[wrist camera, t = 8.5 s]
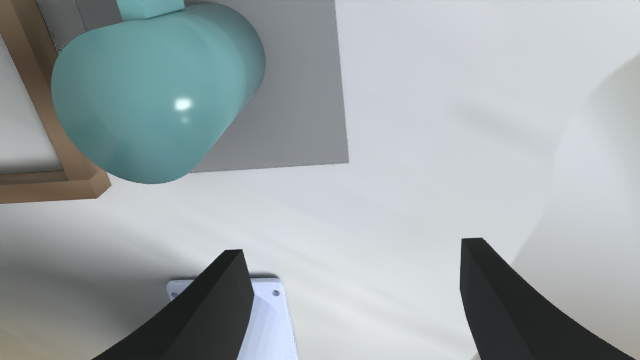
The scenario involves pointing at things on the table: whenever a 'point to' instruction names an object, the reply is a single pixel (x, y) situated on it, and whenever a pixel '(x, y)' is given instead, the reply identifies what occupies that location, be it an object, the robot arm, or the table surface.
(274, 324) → the robot arm
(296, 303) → the table surface
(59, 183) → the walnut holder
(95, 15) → the gray mat
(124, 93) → the teal jug
